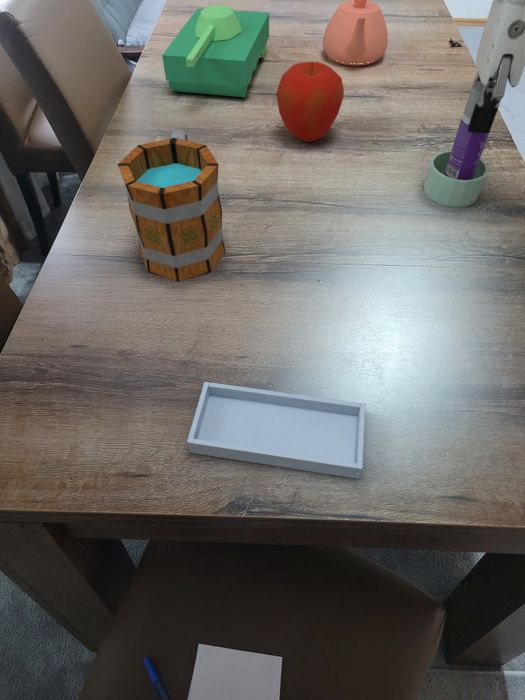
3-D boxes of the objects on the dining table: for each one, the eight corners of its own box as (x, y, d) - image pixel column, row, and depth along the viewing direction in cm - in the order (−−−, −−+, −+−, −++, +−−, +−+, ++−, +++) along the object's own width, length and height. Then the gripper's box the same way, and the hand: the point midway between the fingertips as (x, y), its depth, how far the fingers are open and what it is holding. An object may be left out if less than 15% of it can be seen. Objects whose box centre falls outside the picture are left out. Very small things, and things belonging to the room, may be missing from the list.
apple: (265, 144, 96) (265, 67, 85) (292, 117, 103) (295, 42, 92) (323, 160, 93) (331, 82, 82) (347, 131, 99) (357, 55, 88)
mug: (223, 281, 73) (215, 194, 61) (132, 281, 73) (106, 194, 61) (229, 201, 85) (223, 116, 73) (152, 201, 85) (133, 116, 73)
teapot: (387, 79, 113) (398, 17, 104) (319, 76, 114) (324, 15, 105) (383, 41, 127) (393, -17, 117) (322, 38, 128) (327, -19, 118)
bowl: (475, 178, 89) (485, 152, 85) (480, 209, 83) (491, 183, 79) (422, 173, 90) (429, 148, 86) (424, 204, 84) (432, 178, 80)
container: (473, 187, 82) (507, 95, 70) (444, 185, 83) (473, 93, 71) (470, 172, 85) (502, 81, 73) (442, 170, 86) (470, 79, 74)
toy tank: (146, 50, 95) (195, -10, 116) (157, 114, 104) (201, 47, 125) (235, 56, 92) (269, -7, 113) (238, 121, 102) (269, 52, 123)
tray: (362, 415, 59) (365, 403, 57) (358, 479, 54) (362, 469, 52) (206, 393, 61) (204, 381, 59) (189, 452, 56) (186, 442, 54)
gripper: (569, 4, 56) (509, 153, 71) (541, -37, 67) (494, 100, 81) (501, 2, 57) (455, 149, 72) (484, -39, 68) (447, 97, 82)
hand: (476, 121), depth 76 cm, fingers closed on container, 4 cm apart
